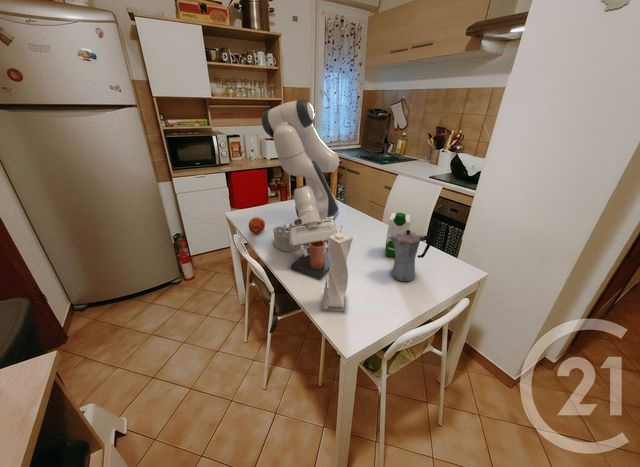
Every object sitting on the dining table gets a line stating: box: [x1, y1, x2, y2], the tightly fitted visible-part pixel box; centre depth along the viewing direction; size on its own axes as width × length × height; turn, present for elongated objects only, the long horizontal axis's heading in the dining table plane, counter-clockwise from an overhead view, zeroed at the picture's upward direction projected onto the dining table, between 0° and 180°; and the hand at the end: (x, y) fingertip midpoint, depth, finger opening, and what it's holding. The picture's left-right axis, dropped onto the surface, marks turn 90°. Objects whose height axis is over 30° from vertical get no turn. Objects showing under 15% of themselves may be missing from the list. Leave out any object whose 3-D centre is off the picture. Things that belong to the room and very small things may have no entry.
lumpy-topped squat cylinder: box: [273, 224, 299, 252], centre depth 123 cm, size 10×13×9 cm
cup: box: [308, 240, 326, 269], centre depth 105 cm, size 6×6×10 cm
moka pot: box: [389, 229, 433, 282], centre depth 100 cm, size 10×15×20 cm, turn 88°
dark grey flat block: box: [290, 246, 330, 280], centre depth 110 cm, size 16×14×4 cm
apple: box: [248, 216, 266, 234], centre depth 134 cm, size 8×8×8 cm
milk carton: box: [385, 212, 411, 259], centre depth 114 cm, size 9×9×20 cm
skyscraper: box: [322, 224, 353, 313], centre depth 84 cm, size 8×8×28 cm
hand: (317, 254), depth 104 cm, fingers open, 8 cm apart
